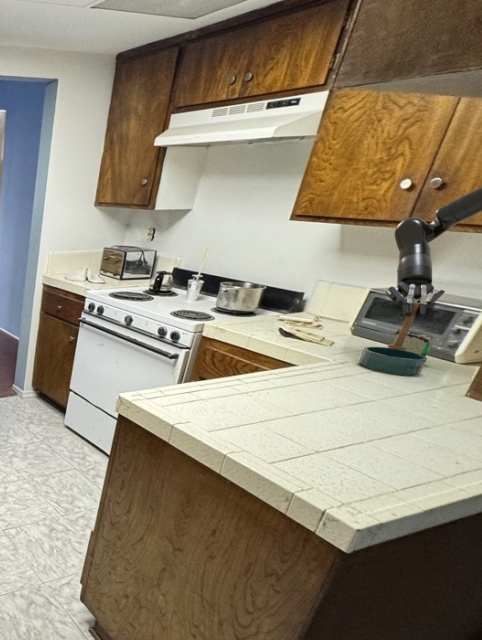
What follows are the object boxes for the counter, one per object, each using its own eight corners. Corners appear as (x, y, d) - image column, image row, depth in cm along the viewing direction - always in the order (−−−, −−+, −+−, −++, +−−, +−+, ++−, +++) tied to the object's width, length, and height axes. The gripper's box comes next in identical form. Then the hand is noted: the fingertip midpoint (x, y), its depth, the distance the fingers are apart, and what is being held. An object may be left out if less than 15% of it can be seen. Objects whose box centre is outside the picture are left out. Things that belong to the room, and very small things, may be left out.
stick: (403, 347, 152) (423, 302, 147) (408, 351, 149) (429, 304, 143) (385, 345, 154) (404, 301, 149) (390, 348, 151) (409, 303, 145)
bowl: (408, 366, 157) (415, 350, 155) (428, 379, 145) (436, 362, 143) (351, 359, 163) (357, 344, 161) (366, 371, 151) (373, 355, 149)
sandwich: (437, 367, 156) (451, 338, 153) (418, 367, 156) (432, 338, 153) (401, 356, 168) (413, 329, 164) (383, 356, 168) (395, 328, 164)
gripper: (392, 262, 151) (391, 306, 146) (451, 265, 145) (453, 311, 140) (379, 277, 157) (378, 320, 152) (436, 280, 151) (437, 325, 146)
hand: (414, 315), depth 146 cm, fingers closed on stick, 2 cm apart
